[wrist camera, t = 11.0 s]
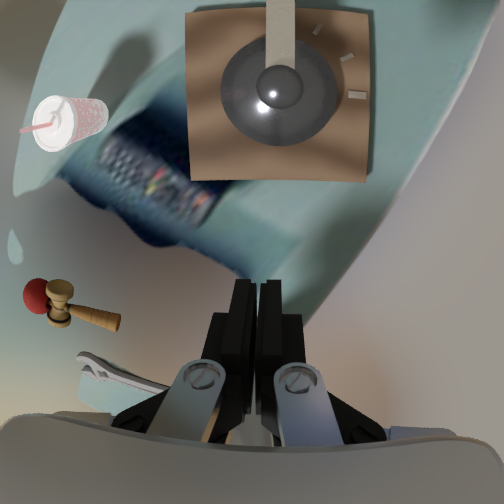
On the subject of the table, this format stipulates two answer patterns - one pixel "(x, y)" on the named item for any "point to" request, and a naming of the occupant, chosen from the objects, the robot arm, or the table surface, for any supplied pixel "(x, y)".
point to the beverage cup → (66, 121)
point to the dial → (278, 84)
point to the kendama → (63, 305)
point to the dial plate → (266, 156)
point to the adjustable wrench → (116, 375)
